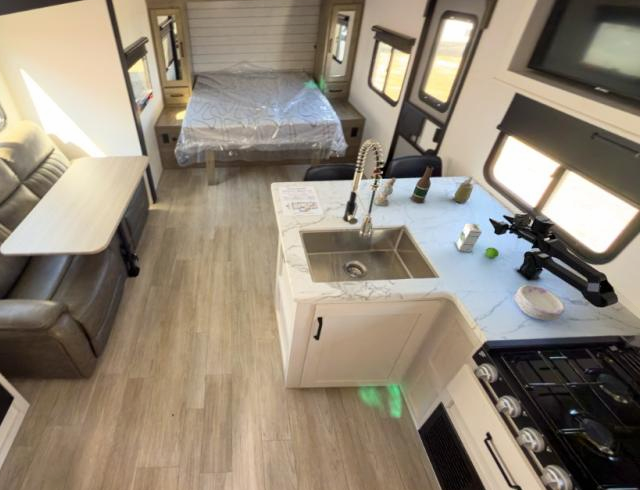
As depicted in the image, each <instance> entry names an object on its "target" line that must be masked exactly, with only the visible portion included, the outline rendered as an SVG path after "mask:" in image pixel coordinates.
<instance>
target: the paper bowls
mask: <svg viewBox="0 0 640 490" xmlns="http://www.w3.org/2000/svg"><path fill="white" fill-rule="evenodd" d="M513 297H514V301H515V303H516V304H517V305H518V308H519V309H520V310H521V311H522V312H523V313H524V314H526V315H527V316H529V317H531V318H534V319H535V320H536V319H537V320H543V321H550V322H551V321H555V320H557V319H558V318H559V317H560V316H562V315H563V314H564V312H565V311H566V307H565V304H564V302H563V301H562V300H561V298H560V297H559V296H557V295H556V294H555V293H554V292H552V291H550V290H549V289H547V288H545V287H542V286H538V285H535V284H523V285H521V286H520V287H519V288H518V289H517V290H516V292H515V293H514V295H513Z"/></svg>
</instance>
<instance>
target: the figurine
mask: <svg viewBox="0 0 640 490" xmlns="http://www.w3.org/2000/svg"><path fill="white" fill-rule="evenodd" d="M396 182H397V180H396V177H392V178H390V179H389V180H387V182H386V183H385V184H384V185H383V186H381V188H380V194H378V195H377V197H376V198H374V203H375V204H376V205H378V206H387V205H389V201H388V197H389V196H390V195H392V194H393V192H394V190H393V187H394V186H395V183H396Z"/></svg>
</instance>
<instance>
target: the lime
mask: <svg viewBox="0 0 640 490" xmlns="http://www.w3.org/2000/svg"><path fill="white" fill-rule="evenodd" d="M499 253H500V252H499V250H498V249H497V248H495V247H488V248H487V249H485V255H486V256H487V258H492V259H495V258H498V256H499Z"/></svg>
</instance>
